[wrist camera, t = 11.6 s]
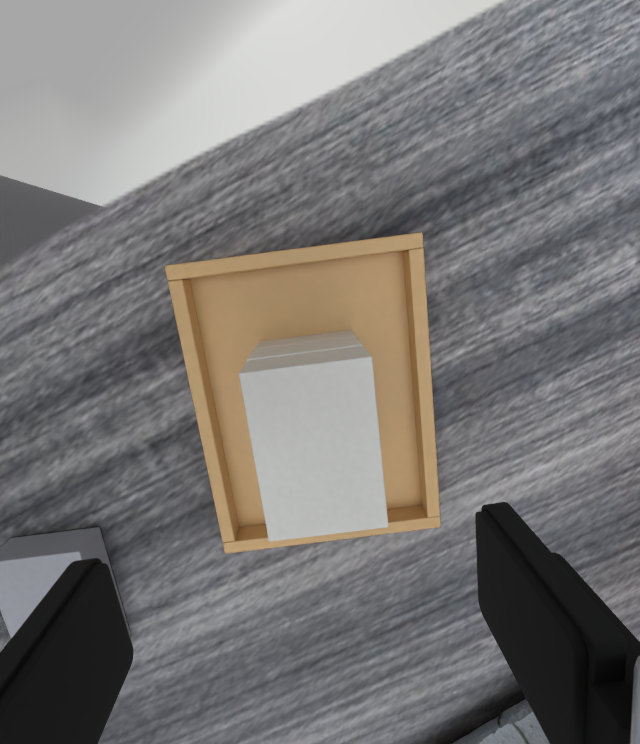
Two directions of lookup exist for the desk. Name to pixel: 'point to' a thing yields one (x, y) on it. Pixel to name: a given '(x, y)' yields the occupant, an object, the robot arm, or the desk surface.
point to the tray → (299, 318)
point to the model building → (509, 728)
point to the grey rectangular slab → (42, 569)
